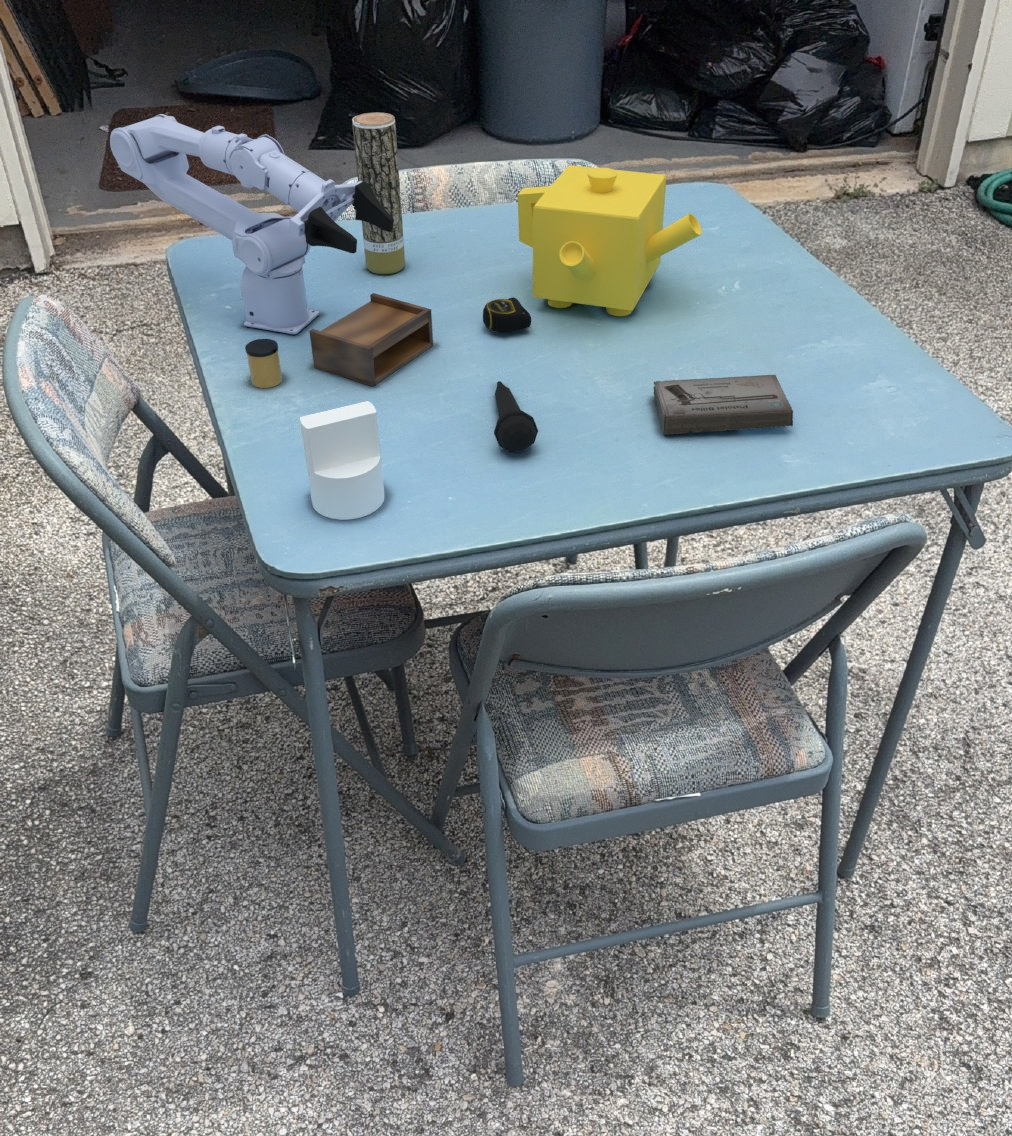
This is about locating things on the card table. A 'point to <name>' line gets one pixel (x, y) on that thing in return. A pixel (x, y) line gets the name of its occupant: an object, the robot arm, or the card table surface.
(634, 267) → the yellow cubic teapot
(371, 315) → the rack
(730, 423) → the box
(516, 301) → the tape measure
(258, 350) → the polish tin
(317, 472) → the base with upright slab
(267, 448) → the card table surface
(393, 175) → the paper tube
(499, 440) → the microphone
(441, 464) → the card table surface
